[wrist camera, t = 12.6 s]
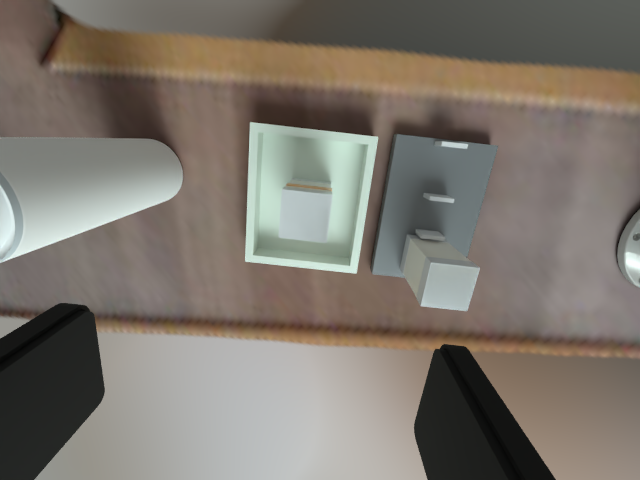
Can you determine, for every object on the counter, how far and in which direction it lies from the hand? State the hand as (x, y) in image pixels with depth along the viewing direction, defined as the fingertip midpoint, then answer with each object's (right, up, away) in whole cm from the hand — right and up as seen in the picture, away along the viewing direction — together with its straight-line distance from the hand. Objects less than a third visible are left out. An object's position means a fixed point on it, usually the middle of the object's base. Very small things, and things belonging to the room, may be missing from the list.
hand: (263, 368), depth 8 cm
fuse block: (+13, +7, +25) cm, 29 cm away
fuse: (+13, +2, +25) cm, 28 cm away
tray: (0, +8, +25) cm, 26 cm away
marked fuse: (0, +8, +24) cm, 26 cm away
